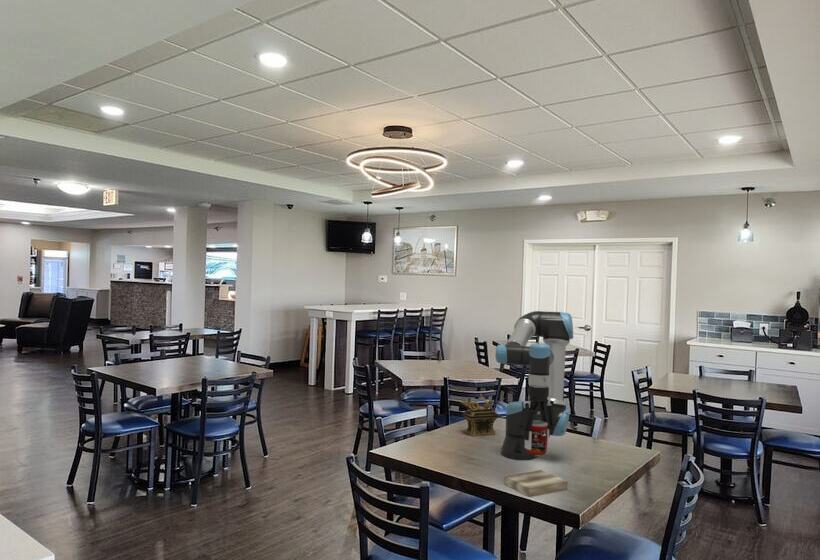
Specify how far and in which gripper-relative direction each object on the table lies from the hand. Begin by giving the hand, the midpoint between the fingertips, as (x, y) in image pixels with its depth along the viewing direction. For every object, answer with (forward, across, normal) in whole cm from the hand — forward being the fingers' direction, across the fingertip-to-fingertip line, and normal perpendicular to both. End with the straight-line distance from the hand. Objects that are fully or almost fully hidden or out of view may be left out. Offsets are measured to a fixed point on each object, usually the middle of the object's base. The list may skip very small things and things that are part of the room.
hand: (536, 447), depth 206 cm
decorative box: (+15, +26, +71) cm, 77 cm away
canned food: (+2, 0, 0) cm, 2 cm away
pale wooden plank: (+15, 0, 0) cm, 15 cm away
